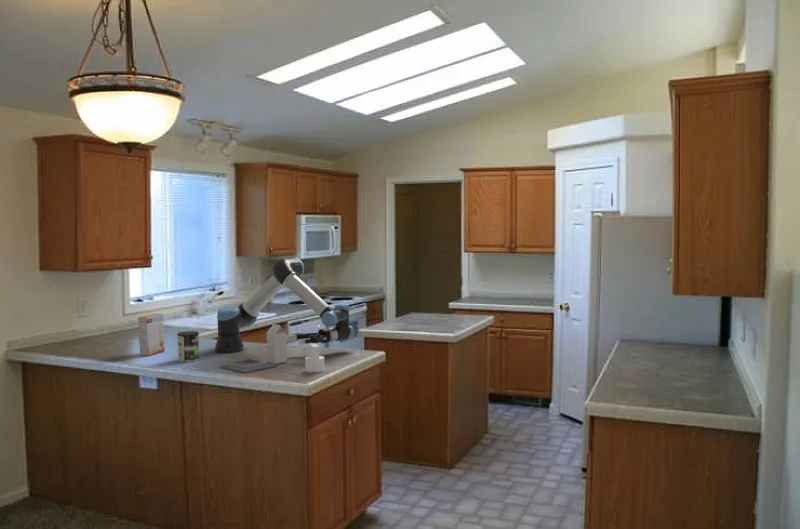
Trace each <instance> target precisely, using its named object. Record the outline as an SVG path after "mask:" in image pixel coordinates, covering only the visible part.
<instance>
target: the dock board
mask: <svg viewBox="0 0 800 529" xmlns="http://www.w3.org/2000/svg"><path fill="white" fill-rule="evenodd" d="M249 364H254V363H253V362H248V363H244V364H243V365H249ZM276 367H277V364H273V363H269V362H267V365H262V366H258V367H253V368H248V369H243V368H238V367H234V366H230V363H226V364H221V365H220V367H219V368H220V369H225V370H230V371H234V372H238V373H243V374H250V373H254V372H258V371H263V370H268V369H271V368H276Z"/></svg>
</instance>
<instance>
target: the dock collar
mask: <svg viewBox="0 0 800 529" xmlns="http://www.w3.org/2000/svg"><path fill="white" fill-rule="evenodd" d="M248 362H253V363H254V364H249V365H243V364H244V363H248ZM267 363H268V362H267V361H265V360H261V359H257V358H247V359H246V358H245V359H241V360H237V361H236V360H235V361H231V362H229V364H230V366H234V367H238V368H243V369H248V368H253V367H258V366H262V365H267Z"/></svg>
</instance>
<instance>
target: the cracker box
mask: <svg viewBox="0 0 800 529" xmlns="http://www.w3.org/2000/svg"><path fill="white" fill-rule="evenodd" d="M137 322H138V342H139V343H138V344H139V357H150V356H153V355H157V354H159V353H162V352H163V351H164V352H165V347H166V346H165V329H164V328H165V327H164V314H163V313H153V314H147V315H142V316H139V317H137Z"/></svg>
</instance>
